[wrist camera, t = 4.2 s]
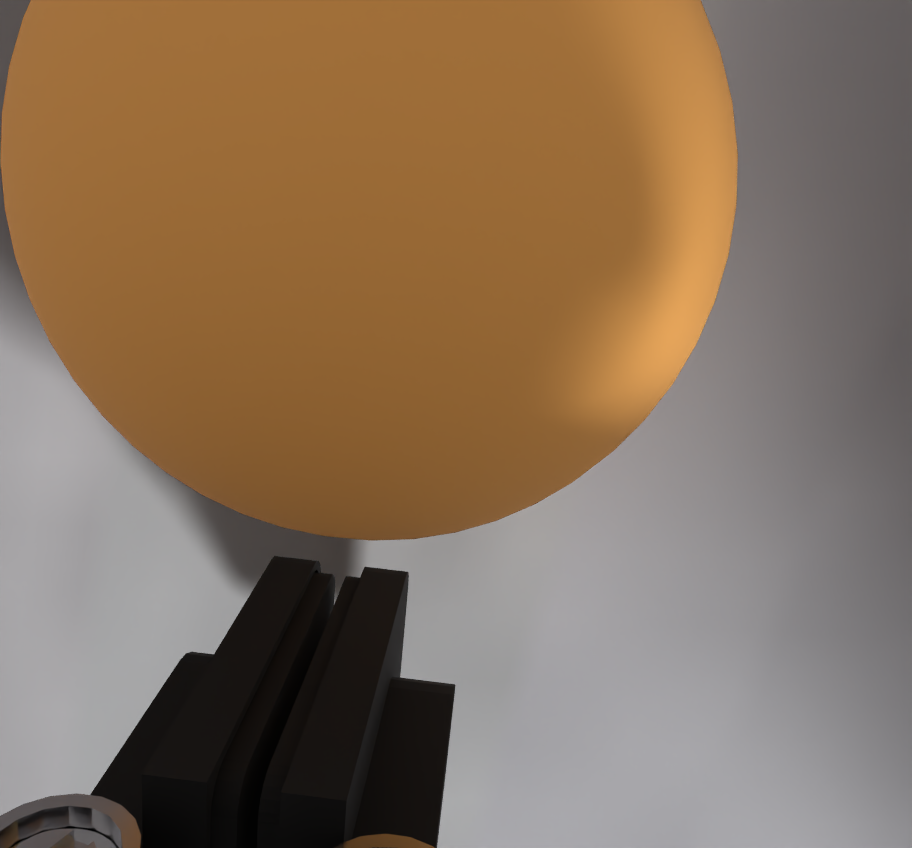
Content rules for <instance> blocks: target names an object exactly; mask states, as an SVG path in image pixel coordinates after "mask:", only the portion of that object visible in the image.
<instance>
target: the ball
mask: <svg viewBox="0 0 912 848" xmlns="http://www.w3.org/2000/svg"><path fill="white" fill-rule="evenodd" d="M737 162H738V152H737V142H736V133H735V123H734V113H733V104H732V99H731V94H730V90H729V86H728V82H727V78H726V74H725V69H724V65H723V61H722V57H721V53H720V49H719V47H718V44H717V41H716V39H715V36H714V34H713V31H712V28H711V26H710V23H709V21H708V18H707V15H706V13H705V10H704V8H703V5H702V2H701V0H31V1H30V3H29V6H28V8H27V10H26V12H25V15H24V17H23V20H22V23H21V27H20V30H19V34H18V37H17V41H16V44H15V47H14V51H13V54H12V58H11V61H10V65H9V70H8V77H7V83H6V90H5V96H4V103H3V109H2V125H1V161H0V163H1V173H2V184H3V195H4V205H5V213H6V217H7V222H8V226H9V231H10V236H11V240H12V245H13V249H14V254H15V258H16V261H17V264H18V266H19V269H20V272H21V275H22V278H23V281H24V284H25V287H26V290H27V293H28V296H29V298H30V301H31V303H32V305H33V307H34V309H35V312H36V314H37V316H38V318H39V320H40V322H41V324H42V326H43V328H44V330H45V332H46V335H47V337H48V339H49V341H50V343H51V344H52V346H53V347H54V349H55V351H56V352H57V354H58V355H59V357H60V359H61V360H62V362H63V363H64V365H65V367H66V368H67V370H68V371H69V373H70V375H71V376H72V378H73V379H74V381H75V382H76V383H77V385H78V386H79V387H80V388H81V390H82V391H83V392H84V393H85V395H86V396H87V397H88V398H89V400H90V401H91V402H92V403H93V405H94V406H95V407H96V408H97V410H98V411H99V412H100V413H101V415H102V416H103V417H104V418H105V419H106V420H107V421H108V422H109V423H110V424H111V425H112V426H113V427H114V428H115V429H116V430H117V431H118V432H119V433H120V434H121V435H122V436H123V437H124V438H125V439H126V440H127V441H128V442H129V443H130V444H131V445H132V446H133V447H135V448H136V449H137V450H139V451H140V452H141V453H142V454H144V455H145V456H146V457H147V458H149V459H150V460H151V461H152V462H154V463H155V464H156V465H157V466H159V467H160V468H161V469H163V470H164V471H165V472H166V473H168V474H169V475H171V476H173V477H174V478H176V479H177V480H179V481H181V482H182V483H184V484H185V485H187V486H189V487H190V488H192V489H193V490H195V491H197V492H198V493H200V494H202V495H203V496H205V497H207V498H209V499H211V500H214V501H216V502H218V503H220V504H222V505H224V506H226V507H228V508H231V509H233V510H235V511H237V512H239V513H241V514H244V515H247V516H250V517H253V518H256V519H259V520H262V521H265V522H268V523H271V524H274V525H277V526H280V527H283V528H288V529H293V530H298V531H302V532H307V533H312V534H317V535H321V536H328V537H338V538H350V539H361V540H399V539H417V538H423V537H430V536H436V535H442V534H449V533H455V532H459V531H462V530H466V529H469V528H473V527H476V526H480V525H483V524H487V523H490V522H494V521H497V520H499V519H501V518H504V517H506V516H508V515H511V514H513V513H515V512H518V511H520V510H522V509H525V508H527V507H529V506H532V505H534V504H536V503H538V502H539V501H541V500H543V499H545V498H546V497H548V496H550V495H551V494H553V493H555V492H557V491H558V490H560V489H562V488H563V487H565V486H567V485H569V484H570V483H572V482H573V481H575V480H576V479H577V478H579V477H580V476H581V475H583V474H584V473H585V472H587V471H588V470H589V469H591V468H592V467H593V466H594V465H596V464H597V463H598V462H600V461H601V460H602V459H604V458H605V457H606V456H607V455H609V454H610V453H611V452H613V451H614V450H615V449H616V448H617V447H618V446H619V445H620V444H621V443H622V442H623V441H624V440H625V439H626V438H627V437H628V436H629V435H630V434H631V433H632V432H633V431H634V430H635V429H636V428H637V427H638V426H639V425H640V424H641V423H642V422H643V421H644V420H645V419H646V417H647V416H648V415H649V414H650V412H651V411H652V410H653V409H654V407H655V406H656V405H657V403H658V402H659V401H660V400H661V398H662V397H663V396H664V394H665V393H666V392H667V391H668V389H669V388H670V387H671V385H672V384H673V383H674V381H675V379H676V378H677V376H678V374H679V372H680V371H681V369H682V367H683V366H684V364H685V362H686V361H687V359H688V357H689V356H690V354H691V352H692V351H693V349H694V347H695V346H696V344H697V341H698V339H699V337H700V335H701V332H702V330H703V328H704V325H705V323H706V321H707V318H708V316H709V314H710V311H711V309H712V307H713V305H714V302H715V300H716V296H717V293H718V289H719V286H720V282H721V279H722V275H723V272H724V269H725V265H726V262H727V258H728V255H729V249H730V243H731V236H732V230H733V223H734V217H735V210H736V201H737Z"/></svg>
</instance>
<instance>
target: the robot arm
mask: <svg viewBox="0 0 912 848" xmlns="http://www.w3.org/2000/svg"><path fill="white" fill-rule="evenodd" d="M408 578H409V575H408V572H404V571H396V570H387V569H379V568H370V567H365V568H364V570H363V572H362V575H361V577H360V578H357V577H349V576H346V578H345V580H344V582H343V585H342V587H341V590H340V592H339V595H338V597H337V600H336V602H335V604H334V591H335V577H334V575H332V574H324V573H321V569H320V563H319V561H312V560H303V559H295V558H287V557H278V556H274V557H273V559H272V560H271V562H270V563H269V565H268V566H267V568H266V570H265V571H264V573H263V575H262V576H261V578H260V580H259V581H258V583H257V585H256V586H255V588H254V590H253V591H252V593H251V594H250V596H249V598H248V599H247V601H246V603H245V604H244V606H243V608H242V609H241V611H240V613H239V614H238V616H237V618H236V619H235V621H234V623H233V624H232V626H231V627H230V629H229V631H228V632H227V634H226V636H225V637H224V639H223V641H222V642H221V644H220V646H219V647H218V649H217V651H216V652H215V654H214V655H213V654H205V653H197V652H190V653H186V654H185V655H184V657H183V658H182V659H181V660H180V661H179V663H178V664H177V666H176V667H175V669H174V670H173V672H172V673H171V675H170V676H169V678H168V679H167V681H166V682H165V684H164V685H163V687H162V688H161V690H160V691H159V693H158V694H157V696H156V697H155V699H154V700H153V702H152V703H151V705H150V706H149V708H148V709H147V711H146V712H145V714H144V715H143V717H142V718H141V720H140V721H139V723H138V724H137V726H136V727H135V729H134V730H133V732H132V733H131V735H130V736H129V738H128V739H127V741H126V742H125V744H124V745H123V747H122V748H121V750H120V751H119V753H118V754H117V756H116V757H115V759H114V760H113V762H112V763H111V765H110V766H109V768H108V769H107V771H106V772H105V774H104V775H103V777H102V778H101V780H100V781H99V783H98V784H97V786H96V787H95V789H94V790H93V792H92V793H91V795H85V794H68V795H57V796H49V797H46V798H43V799H39V800H36V801H32V802H29V803H25V804H23V805H21V806H19V807H17V808H15V809H13V810H11V811H9V812H7V813H5V814H3V815H1V816H0V848H437V842H438V834H439V825H440V817H441V808H442V800H443V791H444V782H445V773H446V765H447V756H448V747H449V738H450V729H451V720H452V711H453V702H454V693H455V684H447V683H439V682H431V681H423V680H414V679H406V678H400V672H401V661H402V649H403V638H404V627H405V616H406V604H407V593H408Z"/></svg>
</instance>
